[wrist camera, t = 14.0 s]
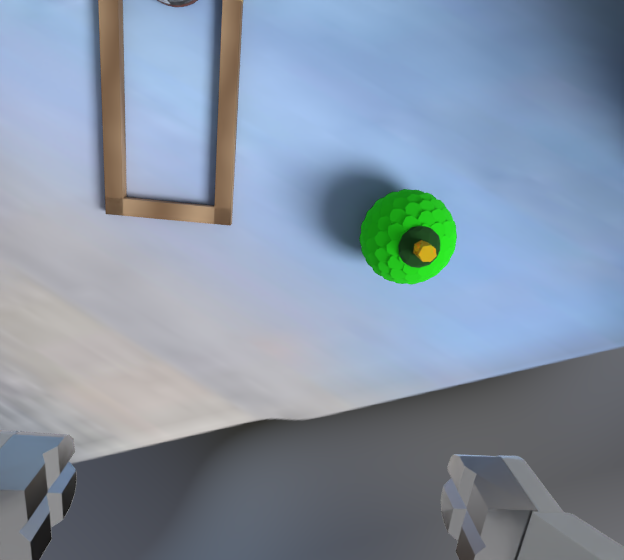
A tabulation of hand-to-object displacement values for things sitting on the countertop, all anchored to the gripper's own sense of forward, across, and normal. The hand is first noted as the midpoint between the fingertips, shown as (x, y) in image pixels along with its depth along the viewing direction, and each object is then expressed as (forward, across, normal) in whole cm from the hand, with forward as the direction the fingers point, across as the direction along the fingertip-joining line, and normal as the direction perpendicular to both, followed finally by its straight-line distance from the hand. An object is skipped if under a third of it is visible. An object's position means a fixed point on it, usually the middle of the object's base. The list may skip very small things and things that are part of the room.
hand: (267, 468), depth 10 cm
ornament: (+33, -11, 0) cm, 35 cm away
